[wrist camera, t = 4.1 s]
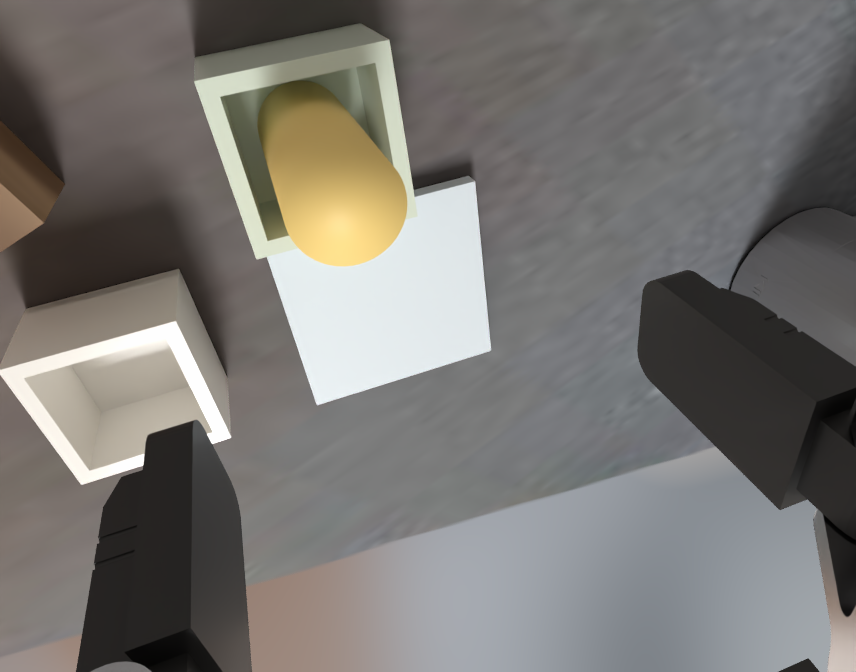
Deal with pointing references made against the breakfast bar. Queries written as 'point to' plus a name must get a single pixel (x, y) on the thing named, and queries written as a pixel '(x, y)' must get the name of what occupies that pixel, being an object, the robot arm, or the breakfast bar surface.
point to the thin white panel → (392, 300)
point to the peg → (329, 176)
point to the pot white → (117, 372)
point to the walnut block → (23, 189)
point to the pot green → (281, 63)
